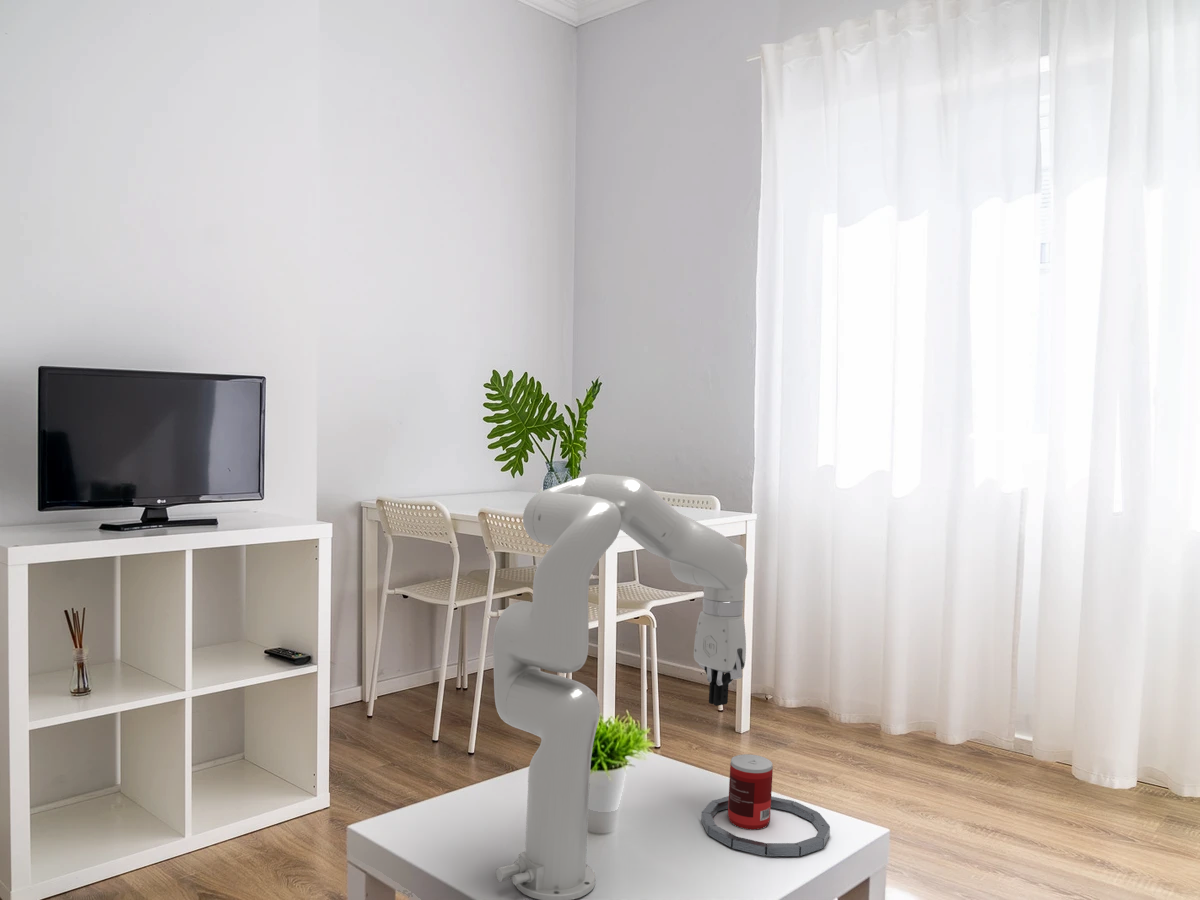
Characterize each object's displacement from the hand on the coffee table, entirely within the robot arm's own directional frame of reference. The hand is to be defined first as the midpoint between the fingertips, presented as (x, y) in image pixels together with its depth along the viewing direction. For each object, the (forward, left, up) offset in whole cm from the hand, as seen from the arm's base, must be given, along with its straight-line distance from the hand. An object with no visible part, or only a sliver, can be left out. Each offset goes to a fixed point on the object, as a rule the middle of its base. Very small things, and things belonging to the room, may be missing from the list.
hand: (718, 703), depth 177 cm
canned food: (0, -10, -19) cm, 22 cm away
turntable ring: (0, -14, -19) cm, 23 cm away
